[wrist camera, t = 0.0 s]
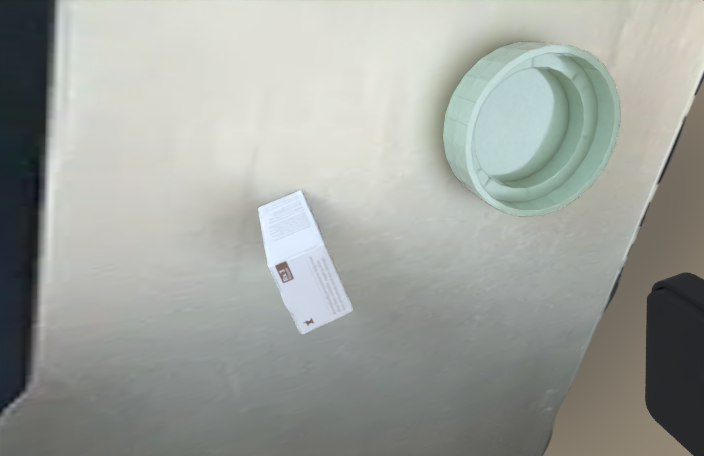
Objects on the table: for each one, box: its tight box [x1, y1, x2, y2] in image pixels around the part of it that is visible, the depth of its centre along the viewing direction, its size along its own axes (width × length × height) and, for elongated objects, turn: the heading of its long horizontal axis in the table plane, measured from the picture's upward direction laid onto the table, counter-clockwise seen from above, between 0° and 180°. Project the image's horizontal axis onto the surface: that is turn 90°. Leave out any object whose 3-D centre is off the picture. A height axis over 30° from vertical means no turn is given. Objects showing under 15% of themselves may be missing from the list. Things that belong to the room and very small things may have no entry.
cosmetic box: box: [258, 190, 353, 334], centre depth 42 cm, size 6×4×12 cm
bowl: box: [443, 41, 620, 217], centre depth 47 cm, size 14×14×5 cm
